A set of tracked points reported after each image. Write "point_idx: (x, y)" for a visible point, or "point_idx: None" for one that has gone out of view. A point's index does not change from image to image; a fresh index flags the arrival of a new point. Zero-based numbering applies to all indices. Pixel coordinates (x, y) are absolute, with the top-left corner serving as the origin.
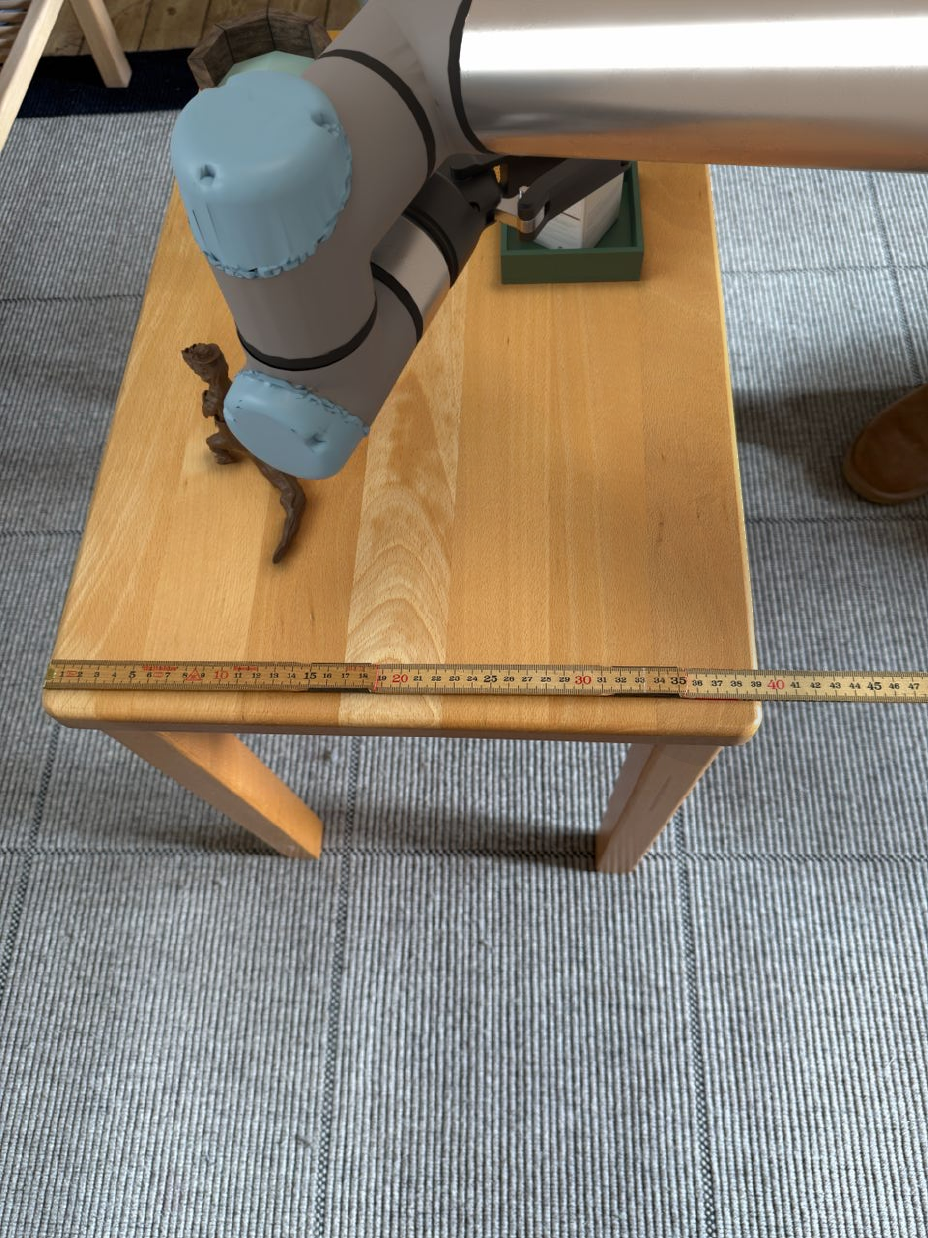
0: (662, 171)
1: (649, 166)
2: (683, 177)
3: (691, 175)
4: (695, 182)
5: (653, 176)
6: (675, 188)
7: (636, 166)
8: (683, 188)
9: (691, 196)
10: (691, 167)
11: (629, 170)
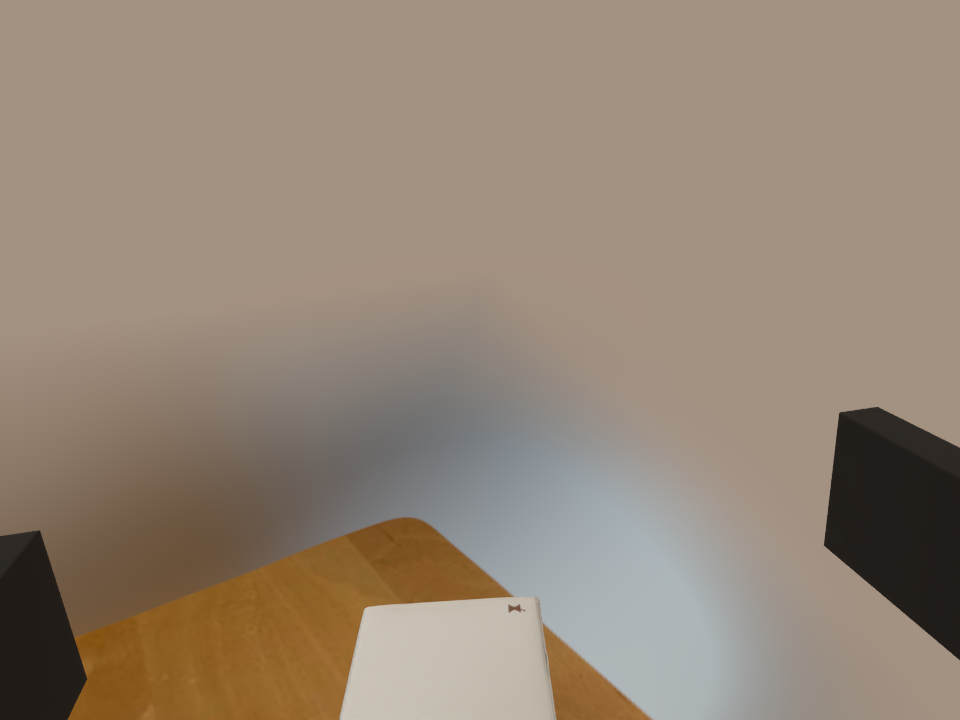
0: None
1: None
2: (573, 680)
3: (580, 671)
4: (596, 679)
5: None
6: (579, 704)
7: None
8: (589, 697)
9: (613, 704)
10: (569, 659)
11: None
